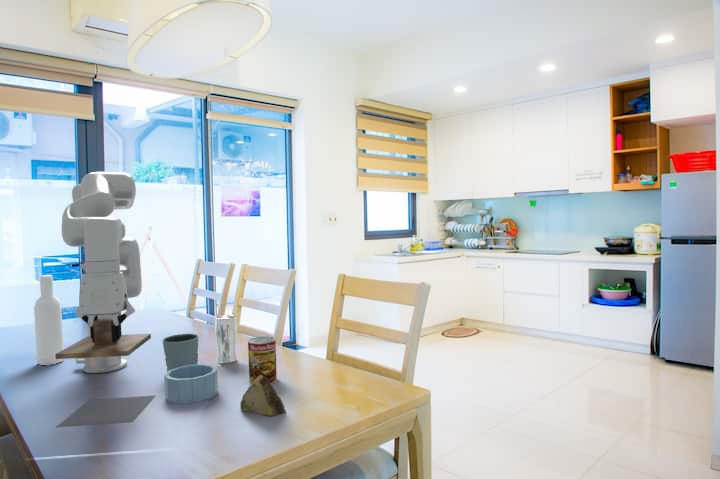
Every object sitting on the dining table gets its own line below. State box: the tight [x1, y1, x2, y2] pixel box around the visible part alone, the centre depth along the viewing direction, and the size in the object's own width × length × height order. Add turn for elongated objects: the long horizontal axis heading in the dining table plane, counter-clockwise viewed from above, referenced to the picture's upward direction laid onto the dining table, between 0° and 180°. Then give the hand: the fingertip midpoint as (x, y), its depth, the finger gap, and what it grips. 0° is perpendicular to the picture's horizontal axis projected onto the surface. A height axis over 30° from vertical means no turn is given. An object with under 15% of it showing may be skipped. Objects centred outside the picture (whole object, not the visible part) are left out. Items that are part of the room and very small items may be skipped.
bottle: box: [33, 274, 65, 366], centre depth 163 cm, size 8×8×30 cm
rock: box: [240, 375, 287, 417], centre depth 117 cm, size 11×9×10 cm
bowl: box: [164, 363, 219, 404], centre depth 129 cm, size 13×13×6 cm
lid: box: [55, 317, 152, 360], centre depth 119 cm, size 16×16×7 cm
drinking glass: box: [162, 333, 199, 373], centre depth 145 cm, size 10×10×12 cm
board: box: [55, 395, 156, 428], centre depth 119 cm, size 17×17×1 cm
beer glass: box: [214, 314, 238, 365], centre depth 160 cm, size 7×7×15 cm
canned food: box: [247, 336, 278, 385], centre depth 140 cm, size 8×8×12 cm
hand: (106, 340), depth 119 cm, fingers closed on lid, 4 cm apart
